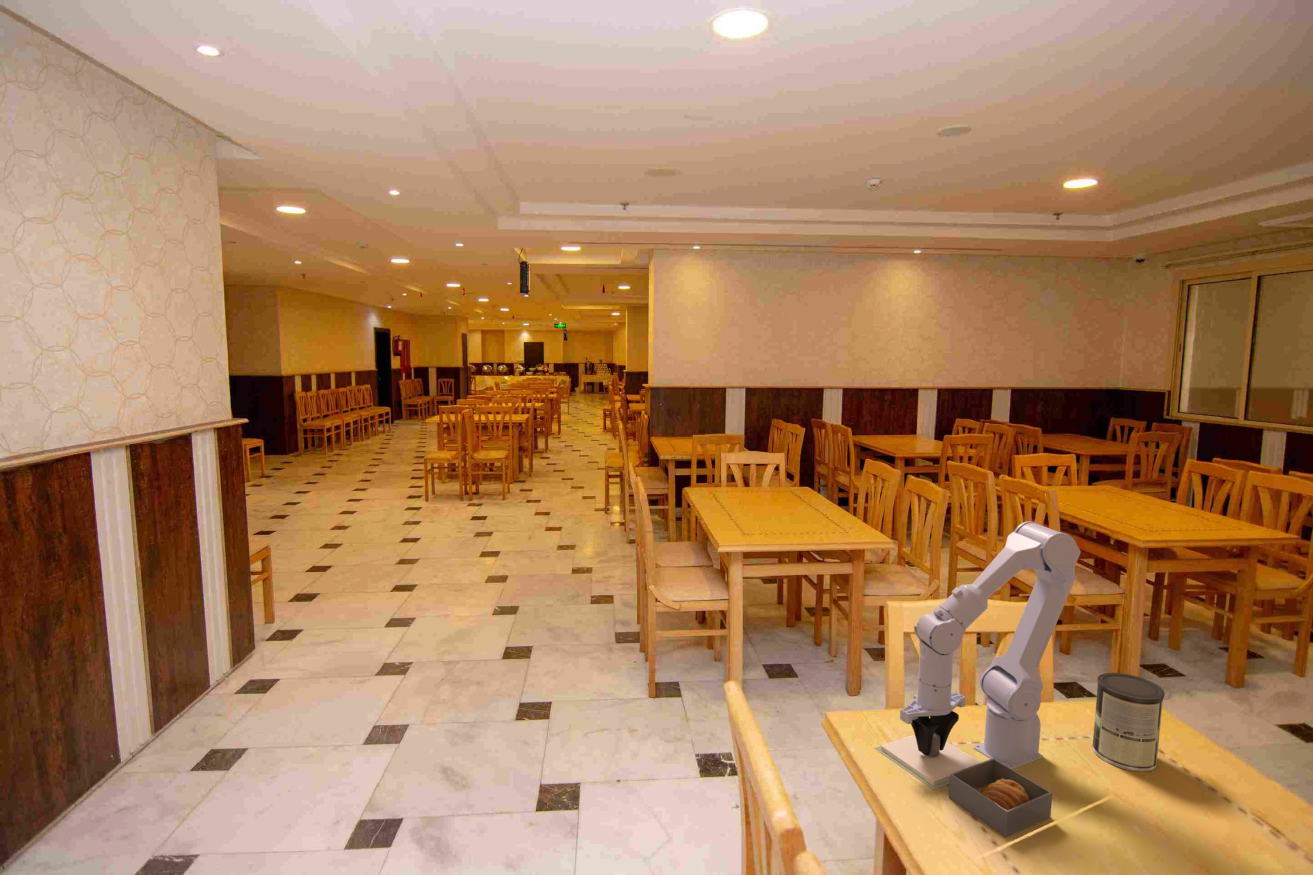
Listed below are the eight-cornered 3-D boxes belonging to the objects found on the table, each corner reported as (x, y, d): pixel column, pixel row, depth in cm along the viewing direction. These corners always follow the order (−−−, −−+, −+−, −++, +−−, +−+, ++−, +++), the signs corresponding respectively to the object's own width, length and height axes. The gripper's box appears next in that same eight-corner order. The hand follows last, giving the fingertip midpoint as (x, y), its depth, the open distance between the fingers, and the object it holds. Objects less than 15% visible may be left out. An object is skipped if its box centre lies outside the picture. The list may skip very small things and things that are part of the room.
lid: (927, 733, 136) (928, 712, 136) (982, 767, 125) (983, 744, 125) (880, 749, 131) (881, 727, 130) (933, 785, 120) (934, 762, 119)
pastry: (1007, 834, 109) (1009, 811, 108) (966, 812, 114) (967, 790, 113) (1034, 809, 114) (1035, 788, 114) (993, 790, 120) (994, 769, 119)
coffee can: (1079, 741, 135) (1085, 672, 133) (1131, 740, 135) (1137, 671, 133) (1115, 772, 125) (1122, 698, 123) (1171, 772, 125) (1179, 698, 123)
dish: (991, 782, 121) (993, 757, 121) (1050, 819, 112) (1052, 792, 111) (948, 799, 117) (949, 774, 116) (1005, 839, 107) (1007, 812, 106)
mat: (927, 732, 137) (927, 730, 137) (988, 770, 125) (989, 768, 125) (874, 750, 131) (874, 748, 131) (933, 791, 119) (933, 789, 119)
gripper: (945, 663, 133) (941, 730, 135) (888, 678, 126) (885, 748, 128) (976, 679, 127) (971, 748, 128) (919, 695, 120) (915, 768, 122)
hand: (930, 749), depth 128 cm, fingers closed on lid, 3 cm apart
